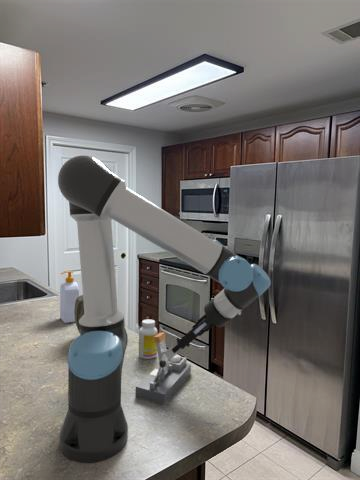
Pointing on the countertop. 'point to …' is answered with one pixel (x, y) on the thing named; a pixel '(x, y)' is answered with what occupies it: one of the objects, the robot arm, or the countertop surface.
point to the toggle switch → (162, 364)
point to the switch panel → (163, 382)
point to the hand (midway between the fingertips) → (167, 355)
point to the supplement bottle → (147, 339)
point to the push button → (175, 359)
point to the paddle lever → (162, 350)
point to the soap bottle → (68, 298)
